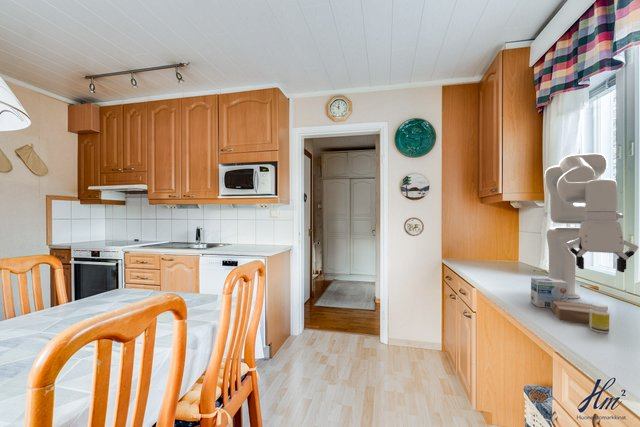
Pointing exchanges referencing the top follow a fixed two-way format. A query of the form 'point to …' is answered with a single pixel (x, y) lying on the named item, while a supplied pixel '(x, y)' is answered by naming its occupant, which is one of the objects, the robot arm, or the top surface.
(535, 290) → the light bulb box
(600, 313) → the supplement bottle
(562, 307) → the walnut stand
